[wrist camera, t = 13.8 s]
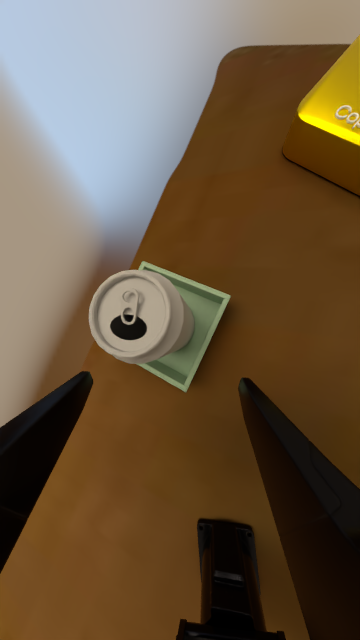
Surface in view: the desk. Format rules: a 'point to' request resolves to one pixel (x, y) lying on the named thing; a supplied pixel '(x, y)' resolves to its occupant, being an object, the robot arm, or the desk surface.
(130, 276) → the can
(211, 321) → the tray
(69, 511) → the desk surface
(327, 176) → the element tile
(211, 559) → the robot arm
